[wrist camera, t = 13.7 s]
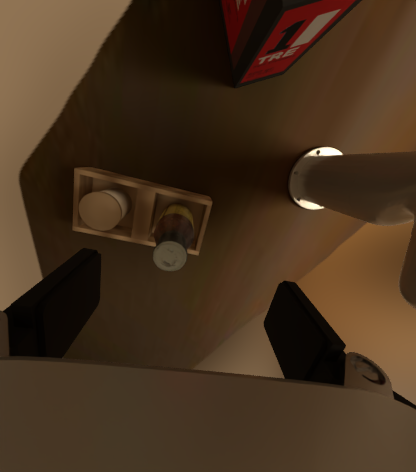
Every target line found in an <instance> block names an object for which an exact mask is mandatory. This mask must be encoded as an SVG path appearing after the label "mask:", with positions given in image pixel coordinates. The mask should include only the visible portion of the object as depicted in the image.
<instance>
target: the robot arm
mask: <svg viewBox="0 0 416 472" xmlns="http://www.w3.org/2000/svg"><path fill="white" fill-rule="evenodd" d="M294 172H295V174H294ZM288 188H289V193H290V196H291V198H292V199H293V201H294V202H295V203H296V204H298V205H299V206H301V207H303V208H306V209H309V210H316V209H321V208H324V207H325V208H328V209H331V210H334V211H337V212H340V213H342V214H345V215H348V216H351V217H354V218H357V219H360V220H362V221H365V222H368V223H372V224H376V225H382V226H391V225H398V224H404V223H408V222H411V221H414V224H413V228H412V232H411V238H410V242H409V245H408V248H407V252H406V255H405V258H404V262H403V265H402V269H401V273H400V277H399V290H400V293H401V295H402V296H403V298H404V299H405V300H406V302H407V303H408V304H410V305H411V306H412V307H413V308H415V309H416V151H414V152H395V153H372V154H347V155H343V154H342V153H341V152H340V151H339V150H337V149H334V148H331V147H319V148H315V149H312V150H310V151H308V152H306V153H305V154H304V155H302V156H301V157H300V158H299V159H298V160H297V162H296V163H295V164H294V166H293V168H292V170H291V172H290V175H289V180H288ZM297 198H298V199H297ZM100 278H101V254H99V253H98V252H97V250H92V249H86V248H83V249H81V250H80V251H79V252H78V253H76V254H75V255H74V256H72V257H71V258H70V259H69V260H67V261H66V262H65V263H63V264H62V265H61V266H60V267H58V268H57V269H56V270H54V271H53V272H52V273H51V274H49V275H48V276H47V277H45V278H44V279H43V280H42V281H40V282H39V283H38V284H36V285H35V286H34V287H33V288H31V289H30V290H29V291H27V292H26V293H25V294H24V295H22V296H21V297H20V298H18V299H17V300H16V301H15V302H13V303H12V304H11V305H10V306H9V307H8V308H6V309H5V310H4V311H3V312H2V311H0V472H416V405H414V404H413V403H411V402H410V401H408V400H406V399H405V398H404V397H402V396H400V395H399V394H397V393H396V392H394V391H393V390H392V386H391V382H390V380H389V378H388V376H387V375H386V373H385V372H384V371H383V370H382V369H381V368H380V367H379V366H378V365H377V364H375V363H374V362H373V361H372V360H370V359H368V358H367V357H365V356H363V355H361V354H358V353H355V352H349V353H347V354H345V352H344V351H343V350H344V348H345V346H346V345H345V343H344V342H343V341H342V340H341V339H340V337H339V336H338V335H337V334H336V333H335V331H334V330H333V329H332V327H331V326H330V325H329V324H328V322H327V321H326V320H325V319H324V317H323V316H322V315H321V314H320V313H319V311H318V310H317V309H316V308H315V306H314V305H313V304H312V303H311V301H310V300H309V299H308V298H307V296H306V295H305V294H304V293H303V292H302V290H301V289H300V288H299V287H298V285H297V284H296V283H295V282H289V281H283V282H282V283H280V284H279V285H278V288H277V290H276V293H275V295H274V298H273V300H272V303H271V305H270V308H269V311H268V313H267V315H266V318H265V320H264V327H265V330H266V333H267V335H268V338H269V340H270V343H271V345H272V348H273V350H274V353H275V355H276V357H277V360H278V362H279V365H280V367H281V370H282V372H283V375H284V377H285V379H283V378H273V377H263V376H254V375H244V374H234V373H223V372H213V371H202V370H192V369H181V368H171V367H160V366H149V365H137V364H126V363H115V362H104V361H92V360H78V359H64V358H63V356H64V355H65V353H66V352H67V350H68V349H69V347H70V346H71V344H72V343H73V341H74V340H75V338H76V337H77V335H78V334H79V332H80V331H81V330H82V328H83V327H84V325H85V324H86V322H87V321H88V319H89V318H90V316H91V315H92V313H93V312H94V310H95V309H96V307H97V306H98V304H99V300H100Z"/></svg>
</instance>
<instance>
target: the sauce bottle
mask: <svg viewBox="0 0 416 472" xmlns="http://www.w3.org/2000/svg"><path fill="white" fill-rule="evenodd" d="M154 239H155V243H156V246H155V248H154V251H153V260H154V263H155V264H156V265H157V266H158V267H159V268H160V269H162V270H165V271H175V270H179V269H180V268H181V267H182V266H183V265H184V264H185V262H186V260H187V249H188V248H189V247H190V246H191V244H192V242H193V239H194V227H193V216H192V213H191V211H190V210H189V209H188V208H187V207H186V206H185V205H183V204H180V203H175V204H172V205H169V206H168V207H167V208H166V209H165V210H164V211H163V213H162V215H161V217H160V219H159V220H158V222H157V224H156V228H155V230H154Z"/></svg>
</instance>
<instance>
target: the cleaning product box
mask: <svg viewBox="0 0 416 472" xmlns="http://www.w3.org/2000/svg"><path fill="white" fill-rule="evenodd" d="M360 1H361V0H219V3H220V9H221V14H222V20H223V26H224V31H225V37H226V43H227V48H228V54H229V60H230V65H231V71H232V77H233V83H234V88H238V87H241V86H244V85H248V84H251V83H255V82H258V81H262V80H265V79H269V78H272V77H275V76H279V75H282V74H284V73H285V72H286V71H287V70H288V69H289V68H290V67H291V66H292V65H293V64H295V63H296V62H297V61H298V60H299V59H300V58H301V57H302V56H303V55H304V54H305V53H306V52H307V51H308V50H309V49H310V48H312V47H313V46H314V45H315V44H316V43H317V42H318V41H319V40H320V39H321V38H322V37H323V36H324V35H325V34H326V33H327V32H329V31H330V30H331V29H332V28H333V27H334V26H335V25H336V24H337V23H338V22H339V21H340V20H341V19H342V18H343V17H344V16H346V15H347V14H348V13H349V12H350V11H351V10H352V9H353V8H354V7H355V6H356V5H357V4H358V3H359V2H360Z"/></svg>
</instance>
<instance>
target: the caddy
mask: <svg viewBox="0 0 416 472" xmlns="http://www.w3.org/2000/svg"><path fill="white" fill-rule="evenodd" d="M112 187H117V188H121V189H123V190H124V191H126V192H127V193H128V194H129V196H130V197H131V200H132V209H131V211H130V212H129V213H128V214H127V215H126V216H125V217H124V218H122V219H121V220H120V222H119V223H118V224H117V225H116V226H115V227H113V228H112V229H109V230H105V231H100V230H96V229H93V228H91V227H89V226H88V225H87V224H86V223H85V222H84V221H83V220H82V218H81V216H80V213H79V203H80V201H81V199H82V198H83V197H84V196H85V195H87V194H89V193H92V192H98V191H99V192H100V191H103V190H106V189H109V188H112ZM175 203H180V204H183V205H185V206H186V207H187V208H188V209H189V210H190V211H191V213H192V216H193V227H194V239H193V242H192V244H191V246H190V247H189V248H188V249H187V253H190V254H195V255H199V251H200V247H201V244H202V240H203V236H204V232H205V229H206V225H207V221H208V217H209V214H210V210H211V206H212V203H213V202H212V200H211V198H210V196H206V195H202V194H198V193H194V192H190V191H186V190H182V189H178V188H174V187H170V186H166V185H162V184H158V183H154V182H150V181H146V180H142V179H138V178H134V177H130V176H126V175H122V174H118V173H114V172H110V171H106V170H102V169H98V168H94V167H81V168H74V198H73V230H74V231H79V232H84V233H89V234H94V235H99V236H104V237H109V238H114V239H119V240H124V241H129V242H134V243H139V244H144V245H149V246H154V247H155V246H156V243H155V239H154V230H155V228H156V224H157V222H158V220H159V219H160V217H161V215H162V213H163V211H164V210H165V209H166V208H167V207H168V206H169V205H172V204H175Z"/></svg>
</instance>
